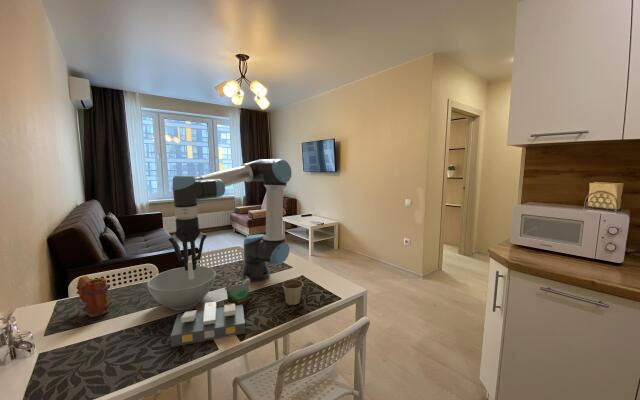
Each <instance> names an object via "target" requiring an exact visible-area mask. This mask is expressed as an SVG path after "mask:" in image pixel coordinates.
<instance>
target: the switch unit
mask: <svg viewBox="0 0 640 400" xmlns="http://www.w3.org/2000/svg"><path fill="white" fill-rule="evenodd" d="M235 308H236V315H230V316H224V307H216V323H214V324H208V325H203V319H204V310H197V315H196V317H195V319H194V321H189V322H183V323H181V317H182V316H183V314H184V313H185V312H184V313H177V314H176V319H175V321H174V324H173V328H172V331H171V333H170V346H171V348H174V347H179V346H184V345H190V344H194V343H195V344H197V343H201V342H206V340H207V341H211V340H217V339H222V338H227V337H234V336H237V335H242V334H246V321H245V314H244V313H245V312H244V305H243V304H242V305H236V306H235Z"/></svg>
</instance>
